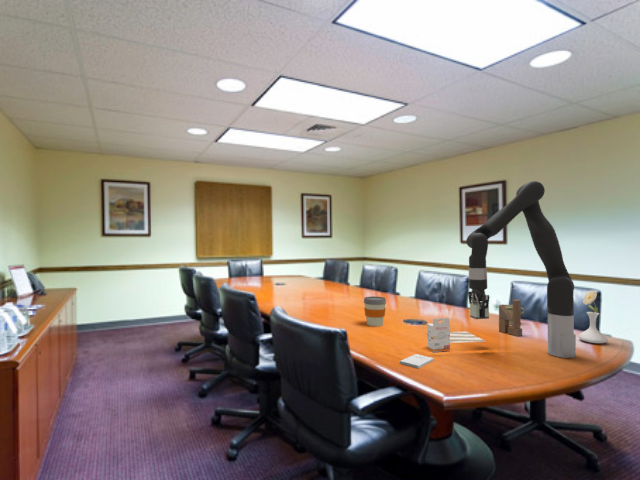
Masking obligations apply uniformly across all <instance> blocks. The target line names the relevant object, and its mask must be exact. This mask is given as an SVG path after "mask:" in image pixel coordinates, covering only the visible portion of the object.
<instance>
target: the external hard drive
mask: <svg viewBox="0 0 640 480" xmlns="http://www.w3.org/2000/svg"><path fill="white" fill-rule="evenodd" d="M433 361H434V358H433V357H431V356H430V357H429V356H426V355H422V354H418V353H415V354H412V355H410V356H408V357H406V358H404V359H402V360H399V364H400V365H404V366H407V367H410V368H414V369H420V368H422V367H424V366H426V365H428V364H430V363H432V362H433Z"/></svg>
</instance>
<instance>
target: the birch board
mask: <svg viewBox="0 0 640 480" xmlns="http://www.w3.org/2000/svg"><path fill="white" fill-rule="evenodd" d="M425 334H426V335H427V332H425ZM484 342H487V341H486V340H485V339H483V338H482V337H481V338H480V337H479V336H476V335H474V334H472V333H470V332H469V331H450V344H454V343H456V344H457V343H484Z"/></svg>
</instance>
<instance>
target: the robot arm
mask: <svg viewBox="0 0 640 480" xmlns="http://www.w3.org/2000/svg"><path fill="white" fill-rule="evenodd" d="M545 191H546V190H545V186H544V185H543V184H542V182H539V181H538V180H537V181H536V180H532V181H527V182H525V183H524V184H523V185H521V186H520V187H519V188H518V189H517V190H516V195H515V197H513V199H511V200H510V201H509V202H508V203H507V204H506V205H504V207H502V208H501V209H499V210H498V211H497V212H496V213H494V214H493V215H492V216H491V217H489V218H488V219H487V220H486V221H485V222H484V223H483V224H482V225H480V226H479V227H478V228H477V229H475V230H474V231H472V232H471V233H470V234H469V235H467V238H466V241H465V242H466V245H467V246H468V247H469V248H470V249H471V254H470V255H469V257H468V288H469V289H470V290H471V291H467V295H468V302H469V303H468V304H469V305H470V304H472V303H473V304H474V303H477V304H478V305H479V316H480V318H485V309H486V308H488V306H489V307H490V305H489V304H490V295H489V294H486V290H487V289H488V270H487V255H488V249H489V241H488V240H490V238H492V237H495V236H496V235H498V234H499V233H501V231H503V229H504V228H505V227H507V225H509V224H510V223H511V222H512V221H513V220H514V219H515V218H516V217H517V216H518V215H519V214H520V213H522V214H523V215H524V217H525V218H524V219H525V220H526V226H527V227H528V230H529V234H530V237H531V240H532V244H533V245H534V248H535V251H536V253H537V255H538V256H539V258H540V261H541V262H542V263H543V266H544V268H545V272H546V275H547V279H548V282H547V284H546V304H547V305H546V307H547V354H549V355H551V356H554V357H558V358H561V359H564V358H565V359H567V358H569V359H570V358H577V354H576V353H577V352H576V345H577V344H576V341H577V340H576V337H577V336H576V333H575V330H574V329H575V327H574V325H575V323H574V322H575V317H574V315H575V309H574V290H575V283H574V282H573V280H572V278H571V276H570V274H569V271H568V270H567V267H566V264H565V262H564V259H563V254H562V250H561V249H562V248H561V245H560V242H559V239H558V235H557V233H556V230H555V227H554V226H553V225H552V223H550V221H549V220H548V219H547V217H546V216H545V215H544V212H543V211H542V208H541V205H540V200H541V199H542V198H543V197H544V194H545ZM481 304H482V306H481ZM485 304H486V305H485Z"/></svg>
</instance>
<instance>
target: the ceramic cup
mask: <svg viewBox="0 0 640 480" xmlns="http://www.w3.org/2000/svg"><path fill="white" fill-rule="evenodd" d="M503 305H504V306H505V307H506V308H507V310H508V311H509V312H510V314H511V315H512V316H513V304H503ZM521 309H522V312H521V315H522V314H524V312H525V308H523V307H521ZM509 326H512V321H510V320H509Z"/></svg>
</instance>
